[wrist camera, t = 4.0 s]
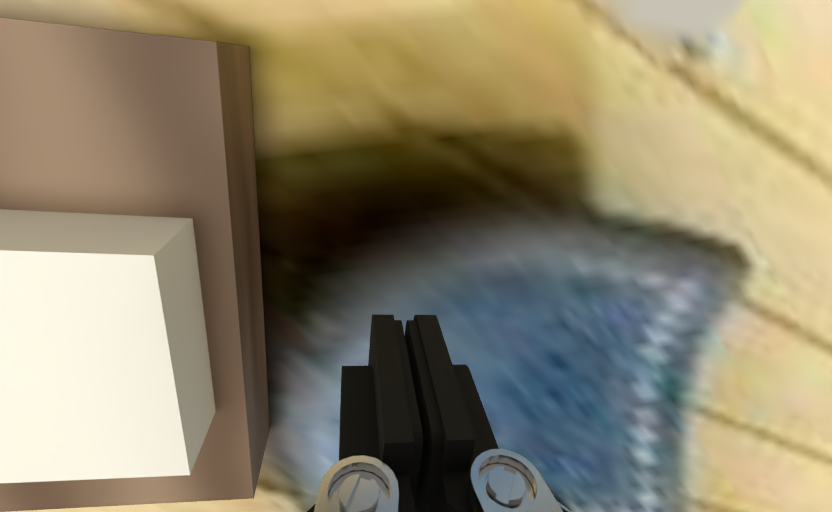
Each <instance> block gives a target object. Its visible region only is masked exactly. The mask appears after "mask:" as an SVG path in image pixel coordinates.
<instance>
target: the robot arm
mask: <svg viewBox="0 0 832 512" xmlns="http://www.w3.org/2000/svg"><path fill="white" fill-rule="evenodd" d="M307 512H570V511H569V510H568V509H567V508H566V507H565V506H563V505H562V504H561V503H560V502H558V501H556V499H555V497H554V496H553V494H552V492H551V491H550V489H549V487H548V486H547V484H546V483H545V481H544V479H543V478H542V476H541V474H540V473H539V472H538V470H537V469H536V468H535V466H534V465H533V464H532V463H531V462H529V461H528V460H527V459H526V458H524V457H523V456H521V455H519V454H517V453H515V452H513V451H509V450H505V449H499V448H498V446H497V443H496V440H495V438H494V435H493V432H492V429H491V427H490V424H489V421H488V419H487V416H486V413H485V411H484V408H483V405H482V402H481V400H480V397H479V394H478V392H477V389H476V386H475V384H474V381H473V378H472V375H471V373H470V370H469V368H468V366H466V365H452V362H451V359H450V356H449V353H448V350H447V347H446V344H445V341H444V338H443V335H442V331H441V328H440V325H439V322H438V319H437V317H436V315H415V316H414V320H407V323H406V330H405V336H404V331H403V326H402V321H401V320H394V315H372V322H371V336H370V350H369V364H368V366H342V377H341V407H340V443H339V462H337V463H336V464H334V465H333V466H332V467H331V468H330V469H329V470H328V471H327V473H326V474H325V475H324V477H323V479H322V482H321V484H320V487H319V491H318V496H317V500H316V504H315V505H314V506H313V507H312V508H311V509H310V510H308V511H307Z"/></svg>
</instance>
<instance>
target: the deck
mask: <svg viewBox="0 0 832 512" xmlns="http://www.w3.org/2000/svg"><path fill="white" fill-rule="evenodd" d="M0 209H6V210H27V211H47V212H68V213H89V214H110V215H131V216H152V217H173V218H193V226H194V235H195V243H196V251H197V260H198V268H199V276H200V285H201V293H202V301H203V309H204V318H205V326H206V334H207V343H208V351H209V359H210V368H211V376H212V384H213V393H214V401H215V409H216V412H215V414H214V417H213V419H212V422H211V424H210V427H209V429H208V432H207V434H206V437H205V439H204V442H203V444H202V447H201V449H200V452H199V454H198V457H197V459H196V462H195V464H194V467H193V469H192V472H191V474H190V475H182V476H159V477H136V478H113V479H90V480H67V481H45V482H22V483H0V512H5V511H23V510H42V509H61V508H80V507H99V506H118V505H136V504H155V503H174V502H193V501H212V500H231V499H249V498H254V494H255V490H256V485H257V481H258V477H259V472H260V468H261V464H262V460H263V455H264V451H265V447H266V442H267V438H268V434H269V430H270V423H269V404H268V386H267V367H266V349H265V330H264V311H263V293H262V274H261V256H260V237H259V218H258V200H257V181H256V163H255V144H254V126H253V107H252V88H251V70H250V51H249V47H247V46H241V45H234V44H228V43H222V42H215V41H206V40H197V39H188V38H179V37H170V36H161V35H153V34H144V33H135V32H126V31H117V30H108V29H99V28H90V27H81V26H72V25H63V24H54V23H45V22H36V21H27V20H18V19H9V18H0Z"/></svg>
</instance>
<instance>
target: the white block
mask: <svg viewBox="0 0 832 512" xmlns="http://www.w3.org/2000/svg"><path fill="white" fill-rule="evenodd" d="M215 412H216V409H215V401H214V393H213V384H212V376H211V368H210V359H209V351H208V343H207V334H206V326H205V318H204V309H203V301H202V293H201V285H200V276H199V268H198V260H197V251H196V243H195V235H194V226H193V218H173V217H152V216H131V215H110V214H89V213H68V212H47V211H27V210H6V209H0V483H22V482H45V481H67V480H90V479H113V478H136V477H159V476H182V475H190V474H191V472H192V469H193V467H194V464H195V462H196V459H197V457H198V454H199V452H200V449H201V447H202V444H203V442H204V439H205V437H206V434H207V432H208V429H209V427H210V424H211V422H212V419H213V417H214V414H215Z"/></svg>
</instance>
